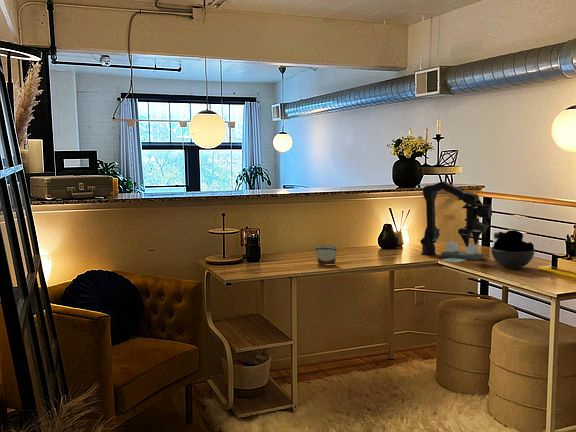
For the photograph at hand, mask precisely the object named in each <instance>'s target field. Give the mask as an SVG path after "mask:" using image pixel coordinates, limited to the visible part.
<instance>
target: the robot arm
mask: <svg viewBox="0 0 576 432" xmlns="http://www.w3.org/2000/svg"><path fill="white" fill-rule="evenodd" d="M441 190H443V191H445V192H447V193H449V194H451V195H454V196H456V197H457V198H459V199H460V200H461V201H462V202H463V203H465V204H464V205H463V206H462V207H461V209H466V210H465V211H466V212H465V213H466V215H465V216H466V217H465V218H464V221H465V222H466V223H465V226H464V227H461V228H459V229H458V230H457V234H458V235H459V236H460V237H461V239H462V240H463V243H464V245H465V248H466V247H468V245H469V244H470V237H471V236H472V238H473V244H478V242H479V239H480V236H481V235H482V234H484V232H487V229H488V228H489V227H490V226H489V222H487V221H483V222H482V221H480V218H485V219H491V218H492V217H493V216H492V215H493V209H492V207H491V204H484V203H482V202H481V199H480V196H479V195H478V194H477V193H474V192H471V191H465V190H463V189H461V188H459V187H457V186H455V185H453V184H451V183H449V182H447V181H446V180H444V181H443V180H442V181H440V182H437V183H435V184H430V185H425V186H424V187H423V188H422V195H423V199H424V200H425V204H426V205H425V206H426V207H425V208H426V209H425V211H426V228H425V231H424V236H423V238H421V239H420V241H419V242H420V245H422V246H421V247H422V248H421V249H422V252H421V253H420V255H424V256H434V255H437V253H436V245H435V244H436V242H437V241H438V240H439V237H440V228H437V226H436V198H437V195H438V192H440V191H441Z"/></svg>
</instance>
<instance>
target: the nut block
mask: <svg viewBox="0 0 576 432" xmlns="http://www.w3.org/2000/svg"><path fill="white" fill-rule="evenodd" d="M478 248H479V245H478V243H477V244H475V243H469V245H468V247H466V246H465V252H466V255H472V256H475V255H478V253H479V252H478V251H479V249H478Z"/></svg>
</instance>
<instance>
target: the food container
mask: <svg viewBox="0 0 576 432" xmlns="http://www.w3.org/2000/svg"><path fill="white" fill-rule="evenodd" d="M314 251H315V252H316V260H317V264H318V263H319V264H335V265H336V258H337V252H338V247H337V246H336V245H332V244H331V245H330V244H329V245H328V244H327V245H326V244H325V245H317V246H315V248H314Z"/></svg>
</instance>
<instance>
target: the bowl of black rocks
mask: <svg viewBox="0 0 576 432" xmlns="http://www.w3.org/2000/svg"><path fill="white" fill-rule="evenodd" d="M498 232H499V236H500V237H499V238H498V239H497V240H496V241H495V242H494V246H493V245H492V247H490V251H491V255H492V258H493V259H494V260H495V262H496V263H497V264H499V265H500V266H501V267H503V268H506V269H510V270H516V269H521V268H523V267H525V266H527V265H528V264H529V263H530V262H531V261H532V259H533V258H534V255H535V251H536V249H535V247H534V246H535V245H534V243H532V242H531V241H530V242H525V241H524V240H523V238H524V234H523V232H521V231H519V230H515V229H511V230H508V231H506V232H505V233H504V234H503V233H502V232H503V231H498Z"/></svg>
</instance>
